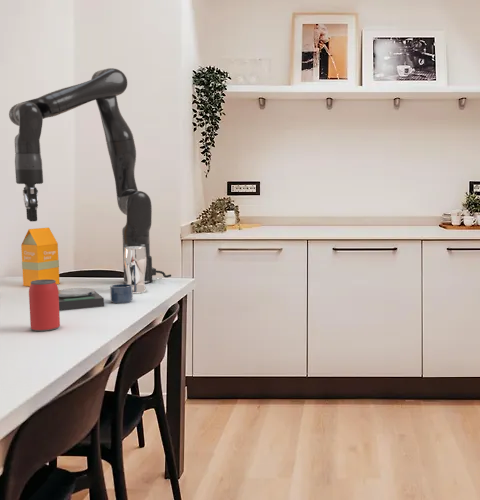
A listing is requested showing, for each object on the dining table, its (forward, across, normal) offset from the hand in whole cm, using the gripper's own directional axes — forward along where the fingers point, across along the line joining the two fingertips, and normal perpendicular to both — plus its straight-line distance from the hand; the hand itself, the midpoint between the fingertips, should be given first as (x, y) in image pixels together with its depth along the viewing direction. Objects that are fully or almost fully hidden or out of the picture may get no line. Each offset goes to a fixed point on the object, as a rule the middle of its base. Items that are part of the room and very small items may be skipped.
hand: (32, 220), depth 192 cm
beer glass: (+25, -8, -29) cm, 39 cm away
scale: (+24, -20, -9) cm, 33 cm away
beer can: (+24, -49, +2) cm, 55 cm away
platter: (+21, -19, -9) cm, 30 cm away
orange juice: (+24, +23, -4) cm, 34 cm away
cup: (+24, -23, -21) cm, 39 cm away
